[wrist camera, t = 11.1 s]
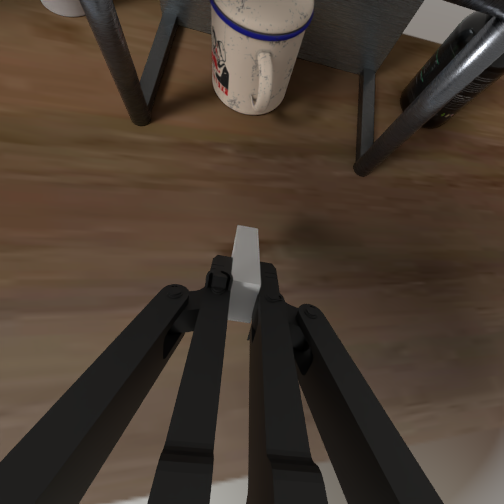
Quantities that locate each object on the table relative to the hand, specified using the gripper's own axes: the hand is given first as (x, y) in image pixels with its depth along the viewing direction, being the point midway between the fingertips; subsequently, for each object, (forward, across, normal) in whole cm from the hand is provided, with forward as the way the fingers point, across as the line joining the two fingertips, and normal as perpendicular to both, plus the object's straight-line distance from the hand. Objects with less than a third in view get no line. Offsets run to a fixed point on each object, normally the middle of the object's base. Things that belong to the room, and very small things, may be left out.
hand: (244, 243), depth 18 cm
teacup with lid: (+18, -2, +10) cm, 20 cm away
